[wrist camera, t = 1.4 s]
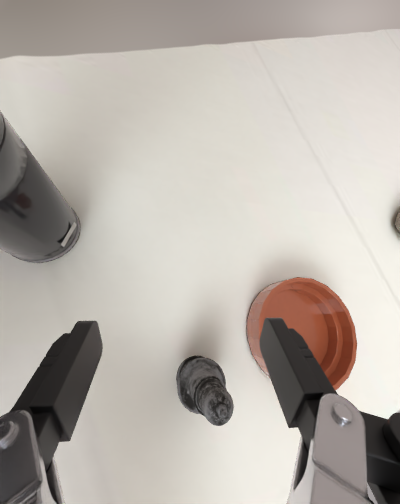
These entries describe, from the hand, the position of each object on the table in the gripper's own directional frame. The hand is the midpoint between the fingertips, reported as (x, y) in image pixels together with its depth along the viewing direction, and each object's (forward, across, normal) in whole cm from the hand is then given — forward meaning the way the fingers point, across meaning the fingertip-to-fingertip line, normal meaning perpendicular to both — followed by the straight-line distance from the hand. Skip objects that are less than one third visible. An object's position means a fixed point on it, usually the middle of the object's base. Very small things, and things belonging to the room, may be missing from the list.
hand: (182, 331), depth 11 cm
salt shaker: (+11, -2, +20) cm, 23 cm away
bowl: (+16, -17, +18) cm, 29 cm away
